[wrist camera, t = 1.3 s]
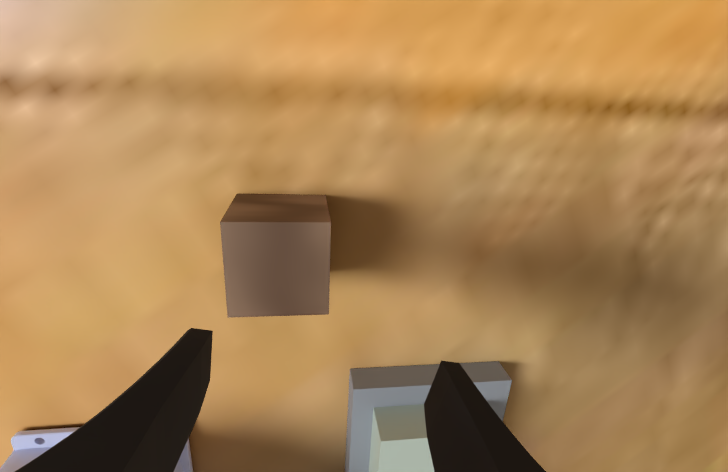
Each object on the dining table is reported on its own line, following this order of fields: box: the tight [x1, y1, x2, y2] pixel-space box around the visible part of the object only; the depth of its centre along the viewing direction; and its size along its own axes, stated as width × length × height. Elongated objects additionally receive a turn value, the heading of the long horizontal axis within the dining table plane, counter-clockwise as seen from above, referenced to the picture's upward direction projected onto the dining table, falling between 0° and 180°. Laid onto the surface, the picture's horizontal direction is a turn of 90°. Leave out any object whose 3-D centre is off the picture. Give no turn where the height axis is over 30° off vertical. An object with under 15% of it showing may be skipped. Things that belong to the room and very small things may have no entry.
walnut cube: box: [220, 194, 331, 317], centre depth 20 cm, size 4×4×4 cm
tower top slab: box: [369, 404, 434, 472], centre depth 25 cm, size 7×7×2 cm
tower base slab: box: [345, 361, 512, 472], centre depth 27 cm, size 10×10×2 cm
